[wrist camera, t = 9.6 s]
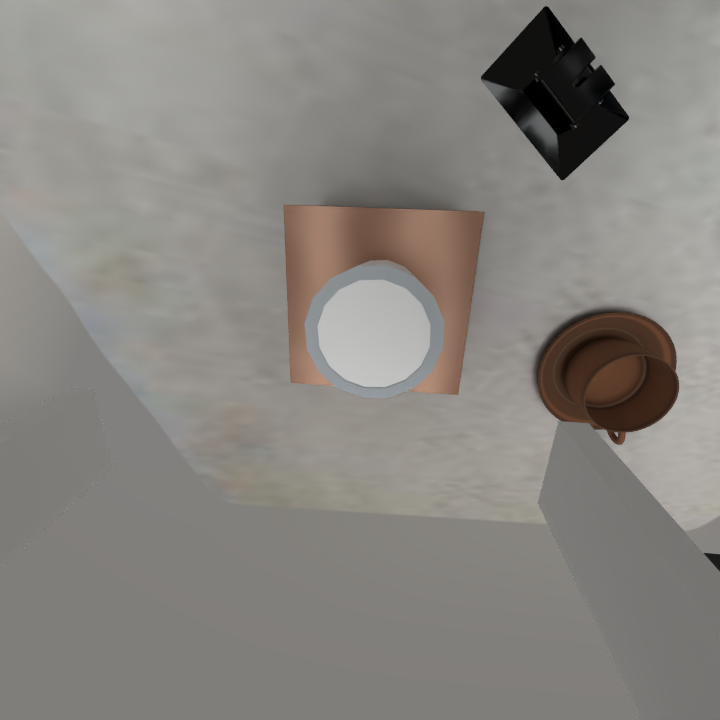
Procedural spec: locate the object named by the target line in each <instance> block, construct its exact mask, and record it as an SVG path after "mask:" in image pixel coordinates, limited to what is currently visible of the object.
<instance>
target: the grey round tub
mask: <svg viewBox="0 0 720 720" xmlns="http://www.w3.org/2000/svg"><path fill="white" fill-rule="evenodd" d="M305 334H306V344H307V350H308V352H309V354H310V356H311V358H312V360H313V362H314V364H315V366H316V367H317V369H318V371H319V373H321V374H322V375H323V376H324V377H325V378H326V379H328V380H329V381H330V382H331V383H332V384H333V385H335V386H336V387H337V388H338V389H340V390H343V391H345V392H348V393H351V394H354V395H356V396H359V397H362V398H390V397H392V396H395V395H398V394H401V393H403V392H406V391H409V390H412V389H413V388H414V387H416V386H417V385H418V384H419V383H420V382H421V381H422V380H423V379H425V378H426V377H427V376H428V375H429V374H430V373H431V372H432V371H433V369H434V367H435V365H436V363H437V360H438V358H439V356H440V354H441V352H442V350H443V342H444V320H443V318H442V315H441V312H440V310H439V307H438V305H437V302H436V300H435V297H434V296H433V295H432V294H431V293H430V292H429V291H428V290H427V289H426V288H425V286H424V285H423V284H422V283H421V282H420V281H419V280H418V279H417V278H416V277H415V276H414V275H413V274H412V273H411V272H410V271H409V270H408V269H407V268H406V267H405V266H402V265H400V264H397V263H395V262H392V261H390V260H370V261H368V262H366V263H363V264H361V265H358V266H356V267H354V268H352V269H350V270H347V271H345V272H343V273H341V274H339V275H337V276H334V277H332V278H330V280H329V281H328V282H327V283H326V284H325V285H324V286H323V288H322V289H321V290H320V291H319V292H318V293H317V294H316V295H315V297H314V298H313V299H312V302H311V305H310V308H309V311H308V315H307V318H306V321H305Z"/></svg>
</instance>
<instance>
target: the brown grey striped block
mask: <svg viewBox="0 0 720 720" xmlns="http://www.w3.org/2000/svg"><path fill="white" fill-rule="evenodd" d="M483 218H484V212H477V211H458V210H430V209H401V208H373V207H344V206H313V205H284V224H285V249H286V274H287V300H288V325H289V350H290V376H291V383H301V384H315V385H329V386H335V385H333V384H332V383H331V382H330V381H329V380H328V379H326V378H325V377H324V376H323V375H322V374H321V373H319V371H318V369H317V367H316V366H315V364H314V362H313V360H312V358H311V356H310V354H309V352H308V350H307V344H306V334H305V321H306V318H307V315H308V311H309V308H310V305H311V302H312V299H313V298H314V297H315V295H316V294H317V293H318V292H319V291H320V290H321V289H322V288H323V286H324V285H325V284H326V283H327V282H328V281H329V280H330V278H332V277H334V276H337V275H339V274H341V273H343V272H345V271H347V270H350V269H352V268H354V267H356V266H358V265H361V264H363V263H366V262H368V261H370V260H390V261H392V262H395V263H397V264H400V265H402V266H405V267H406V268H407V269H408V270H409V271H410V272H411V273H412V274H413V275H414V276H415V277H416V278H417V279H418V280H419V281H420V282H421V283H422V284H423V285H424V286H425V288H426V289H427V290H428V291H429V292H430V293H431V294H432V295H433V296H434V297H435V300H436V302H437V305H438V307H439V310H440V312H441V315H442V318H443V320H444V342H443V350H442V352H441V354H440V356H439V358H438V360H437V363H436V365H435V367H434V369H433V371H432V372H431V373H430V374H429V375H428V376H427V377H426V378H425V379H423V380H422V381H421V382H420V383H419V384H418V385H417V386H416V387H414V388H413V389H412V390H409V391H412V392H426V393H440V394H454V395H458V392H459V385H460V378H461V371H462V364H463V357H464V350H465V343H466V336H467V329H468V323H469V316H470V309H471V302H472V295H473V288H474V281H475V274H476V267H477V260H478V253H479V246H480V239H481V232H482V225H483Z"/></svg>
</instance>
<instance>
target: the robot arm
mask: <svg viewBox="0 0 720 720" xmlns="http://www.w3.org/2000/svg"><path fill="white" fill-rule="evenodd" d="M113 467H114V464H113V460H112V456H111V452H110V448H109V445H108V440H107V437H106V433H105V429H104V425H103V421H102V418H101V414H100V410H99V406H98V402H97V398H96V394H95V391H94V389H87V388H73V387H69V388H67V389H66V390H64V391H62V392H60V393H58V394H56V395H55V396H53V397H51V398H49V399H47V400H45V401H44V402H42V403H40V404H38V405H36V406H34V407H32V408H31V409H29V410H27V411H25V412H23V413H22V414H20V415H18V416H16V417H14V418H12V419H10V420H8V421H7V422H5V423H3V424H1V425H0V570H1V569H2V568H3V567H4V566H5V565H6V564H7V563H8V562H9V561H11V560H12V559H13V558H14V557H15V556H16V555H17V554H18V553H20V552H21V551H22V550H23V549H24V548H25V547H26V546H27V545H28V544H29V543H31V542H32V541H33V540H34V539H35V538H36V537H37V536H38V535H39V534H40V533H41V532H43V531H44V530H45V529H46V528H47V527H48V526H49V525H50V524H51V523H53V522H54V521H55V520H56V519H57V518H58V517H59V516H60V515H61V514H63V513H64V511H66V510H67V509H68V508H69V507H70V506H71V505H72V504H74V503H75V502H76V501H77V500H78V499H79V498H80V497H81V496H82V495H83V494H85V493H86V492H87V491H88V490H89V489H90V488H91V487H92V486H93V485H95V484H96V482H98V481H99V480H100V479H101V478H102V477H103V476H104V475H106V474H107V473H108V472H109V471H110V470H111V469H112V468H113ZM538 504H539V506H540V508H541V510H542V513H543V515H544V517H545V519H546V521H547V523H548V525H549V527H550V529H551V532H552V534H553V536H554V538H555V540H556V542H557V544H558V546H559V549H560V551H561V553H562V555H563V557H564V559H565V561H566V563H567V565H568V568H569V570H570V572H571V574H572V576H573V578H574V580H575V582H576V585H577V587H578V589H579V591H580V593H581V595H582V597H583V600H584V602H585V604H586V606H587V608H588V610H589V612H590V614H591V616H592V619H593V621H594V623H595V625H596V627H597V629H598V631H599V634H600V636H601V638H602V640H603V642H604V644H605V646H606V648H607V650H608V653H609V655H610V657H611V659H612V661H613V663H614V665H615V667H616V670H617V672H618V674H619V676H620V678H621V680H622V682H623V684H624V687H625V689H626V690H627V693H628V695H629V697H630V699H631V701H632V704H633V706H634V708H635V710H636V712H637V714H638V716H639V718H640V720H720V554H709V553H703V552H702V551H701V550H700V549H699V548H698V547H697V546H696V544H695V543H694V542H693V541H692V540H691V539H690V537H689V536H688V535H687V534H686V533H685V532H684V531H683V529H682V528H681V527H680V526H679V525H678V524H677V523H676V522H675V520H674V519H673V518H672V517H671V516H670V515H669V514H668V512H667V511H666V510H665V509H664V508H663V507H662V506H661V505H660V503H659V502H658V501H657V500H656V499H655V498H654V497H653V495H652V494H651V493H650V492H649V491H648V490H647V489H646V488H645V486H644V485H643V484H642V483H641V482H640V481H639V480H638V478H637V477H636V476H635V475H634V474H633V473H632V472H631V471H630V469H629V468H628V467H627V466H626V465H625V464H624V463H623V461H622V460H621V459H620V458H619V457H618V456H617V455H616V454H615V452H614V451H613V450H612V449H611V448H610V447H609V446H608V444H607V443H606V442H605V441H604V440H603V439H602V438H601V437H600V435H599V434H598V433H597V432H596V431H595V430H594V429H593V427H592V426H591V425H590V424H589V423H579V422H564V421H559V422H558V426H557V430H556V434H555V438H554V442H553V446H552V450H551V453H550V457H549V461H548V465H547V469H546V473H545V477H544V481H543V485H542V489H541V493H540V497H539V501H538Z"/></svg>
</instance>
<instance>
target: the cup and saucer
mask: <svg viewBox="0 0 720 720" xmlns="http://www.w3.org/2000/svg"><path fill="white" fill-rule="evenodd" d="M676 362H677V361H676V351H675V347H674V344H673V342H672V340H671V338H670V336H669V335H668V333H667V332H666V331H665V330H664V329H663V328H662V327H661V326H660V325H659V324H657V323H656V322H654V321H652V320H651V319H649V318H646V317H644V316H641V315H638V314H633V313H625V312H610V313H602V314H598V315H594V316H591V317H588V318H585V319H583V320H581V321H579V322H577V323H575V324H573V325H572V326H570V327H569V328H567V329H566V330H564V331H563V332H562V333H561V334H560V335H559V336H558V337H557V338H556V339H555V340H554V341H553V342H552V343H551V345H550V346H549V347H548V349H547V350H546V352H545V354H544V356H543V358H542V360H541V363H540V366H539V371H538V388H539V393H540V396H541V399H542V401H543V403H544V404H545V406H546V408H547V409H548V410H549V411H550V412H551V413H552V414H553V415H554V416H555V417H556V418H558V419H559V420H561V421H564V422H579V423H589V424H590V425H591V426H592V427H593V429H594V430H596V429H605V430H607V432H608V435H609V437H610V438H611V440H612V441H613V442H614V443H615V444H618V445H620V444H622V443H623V442H624V441H625V432H633V431H638V430H641V429H644V428H646V427H649V426H651V425H653V424H654V423H656V422H657V421H659V420H660V419H661V418H663V417H664V416H665V415H666V414H667V413H668V412H669V410H670V409H671V408H672V406H673V405H674V403H675V401H676V399H677V396H678V392H679V380H678V376H677V374H676V372H675V370H676ZM614 432H618V437H617V436H616V435H615V433H614Z"/></svg>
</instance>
